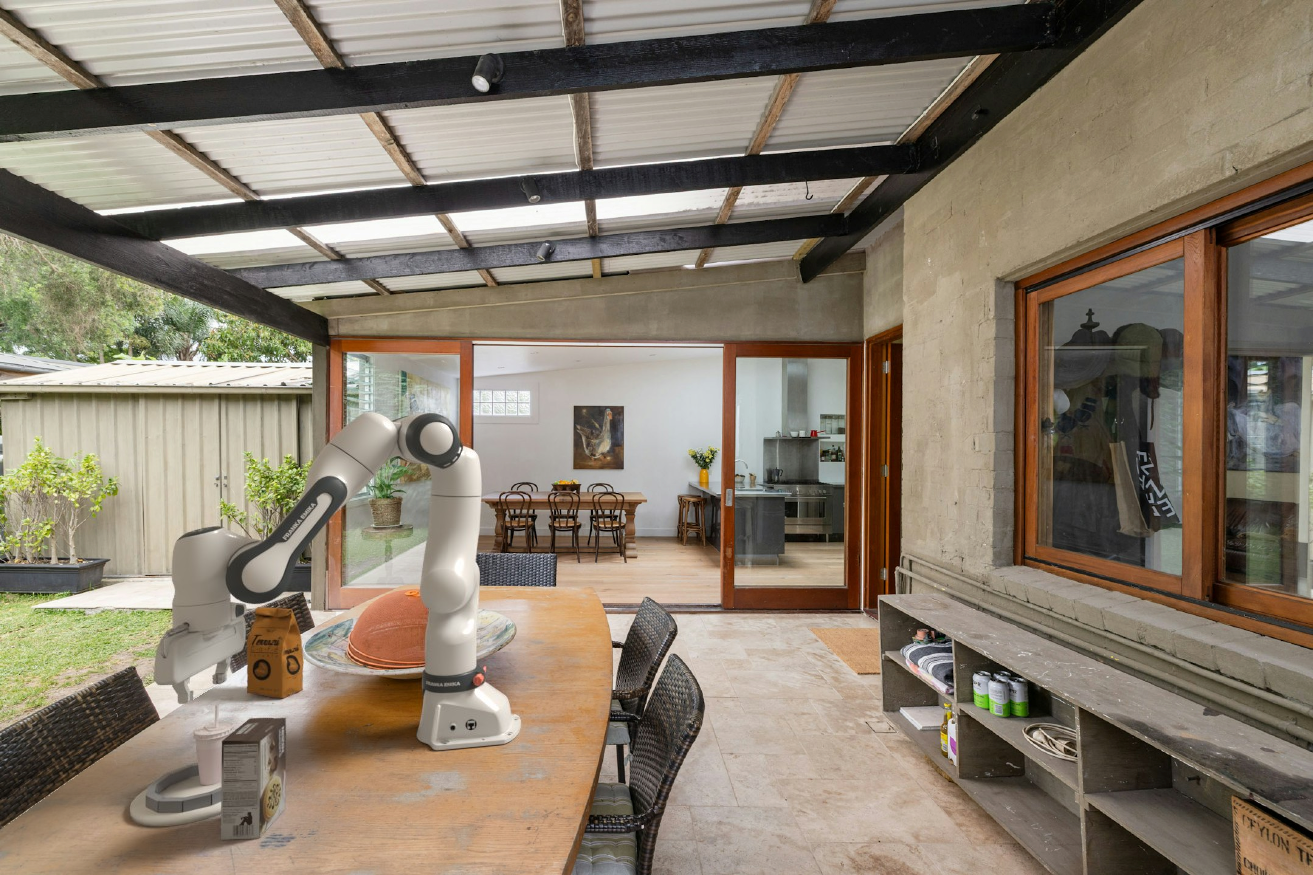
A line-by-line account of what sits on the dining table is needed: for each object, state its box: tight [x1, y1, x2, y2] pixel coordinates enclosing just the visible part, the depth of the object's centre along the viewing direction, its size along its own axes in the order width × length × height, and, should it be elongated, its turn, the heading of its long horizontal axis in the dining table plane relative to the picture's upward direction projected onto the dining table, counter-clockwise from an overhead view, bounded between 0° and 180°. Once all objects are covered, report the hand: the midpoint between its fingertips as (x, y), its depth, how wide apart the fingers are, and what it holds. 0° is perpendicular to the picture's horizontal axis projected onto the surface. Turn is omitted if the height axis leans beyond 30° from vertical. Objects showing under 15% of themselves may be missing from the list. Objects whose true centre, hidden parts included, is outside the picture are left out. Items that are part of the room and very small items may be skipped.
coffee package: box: [246, 606, 305, 699], centre depth 171 cm, size 10×12×22 cm
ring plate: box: [129, 762, 221, 828], centre depth 120 cm, size 20×20×3 cm
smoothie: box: [192, 704, 235, 785], centre depth 124 cm, size 6×6×14 cm
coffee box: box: [220, 717, 287, 841], centre depth 111 cm, size 9×6×16 cm
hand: (203, 692), depth 120 cm, fingers open, 8 cm apart
